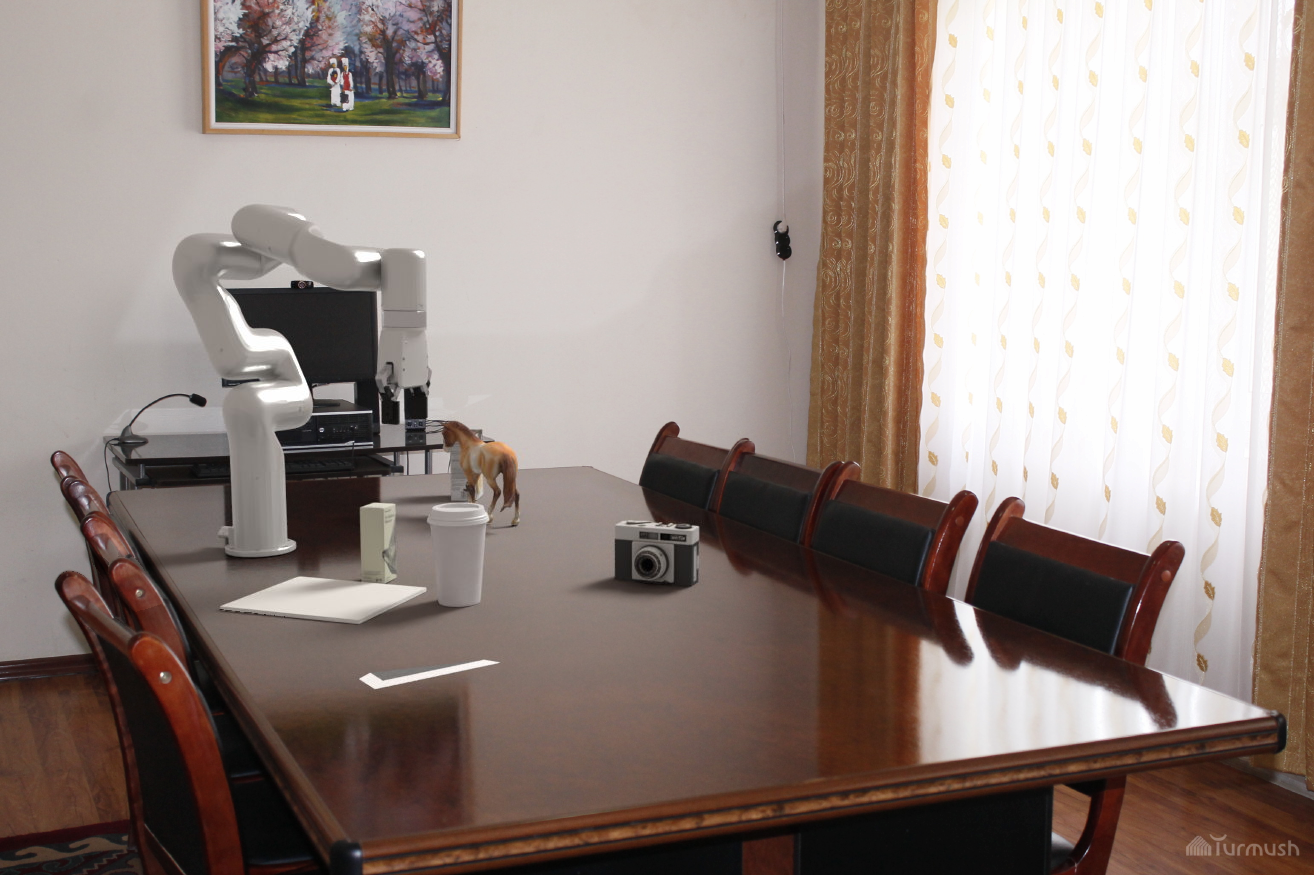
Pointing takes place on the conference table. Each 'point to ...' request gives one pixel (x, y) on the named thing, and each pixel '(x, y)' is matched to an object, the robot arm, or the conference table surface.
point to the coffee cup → (458, 551)
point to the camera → (657, 553)
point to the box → (378, 543)
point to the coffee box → (462, 475)
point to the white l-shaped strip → (418, 673)
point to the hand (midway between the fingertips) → (405, 421)
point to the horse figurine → (484, 465)
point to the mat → (325, 599)
